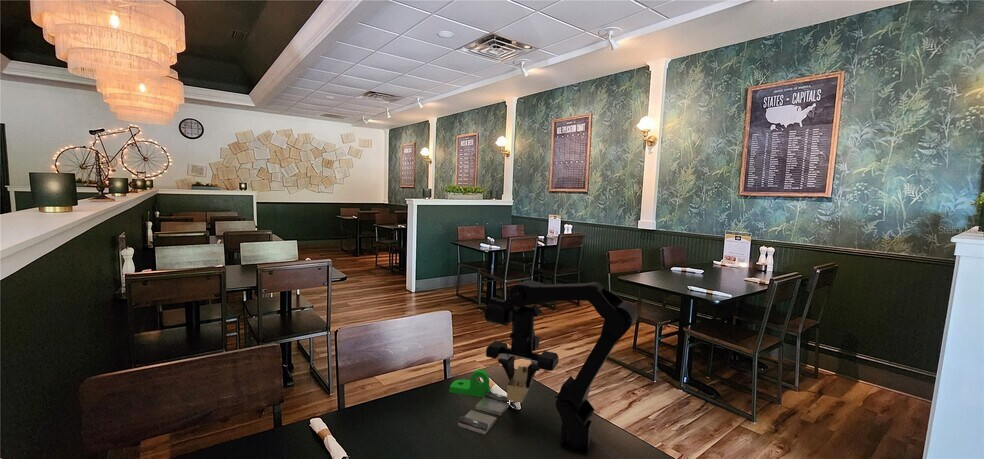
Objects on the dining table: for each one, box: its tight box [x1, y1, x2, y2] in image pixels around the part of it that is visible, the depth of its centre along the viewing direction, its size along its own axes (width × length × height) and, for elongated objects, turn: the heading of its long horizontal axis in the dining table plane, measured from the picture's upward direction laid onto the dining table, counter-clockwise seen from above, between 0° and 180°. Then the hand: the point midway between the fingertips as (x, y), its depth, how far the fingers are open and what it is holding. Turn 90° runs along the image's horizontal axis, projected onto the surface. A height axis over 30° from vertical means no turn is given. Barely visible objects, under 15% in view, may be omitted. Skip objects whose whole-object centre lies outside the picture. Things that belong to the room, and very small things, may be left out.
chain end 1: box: [475, 391, 510, 416], centre depth 120 cm, size 8×7×2 cm
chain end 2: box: [457, 409, 498, 435], centre depth 111 cm, size 8×7×2 cm
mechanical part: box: [449, 368, 490, 398], centre depth 129 cm, size 12×6×8 cm, turn 77°
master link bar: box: [506, 365, 533, 404], centre depth 110 cm, size 4×12×5 cm, turn 162°
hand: (520, 385), depth 110 cm, fingers closed on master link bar, 4 cm apart
